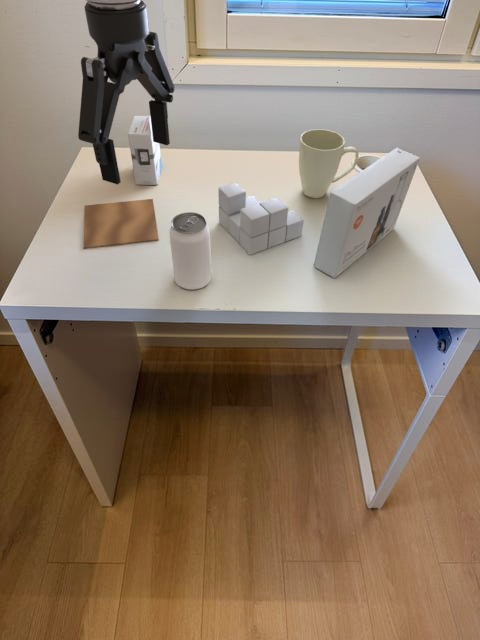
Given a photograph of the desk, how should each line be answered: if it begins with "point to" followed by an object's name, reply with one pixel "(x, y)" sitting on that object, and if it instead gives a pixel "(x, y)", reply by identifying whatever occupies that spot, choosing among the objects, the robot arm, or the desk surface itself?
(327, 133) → the mug
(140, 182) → the ink box
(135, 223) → the wooden coaster
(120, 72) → the robot arm
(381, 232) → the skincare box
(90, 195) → the desk surface
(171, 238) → the can
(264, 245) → the stacked white cubes
